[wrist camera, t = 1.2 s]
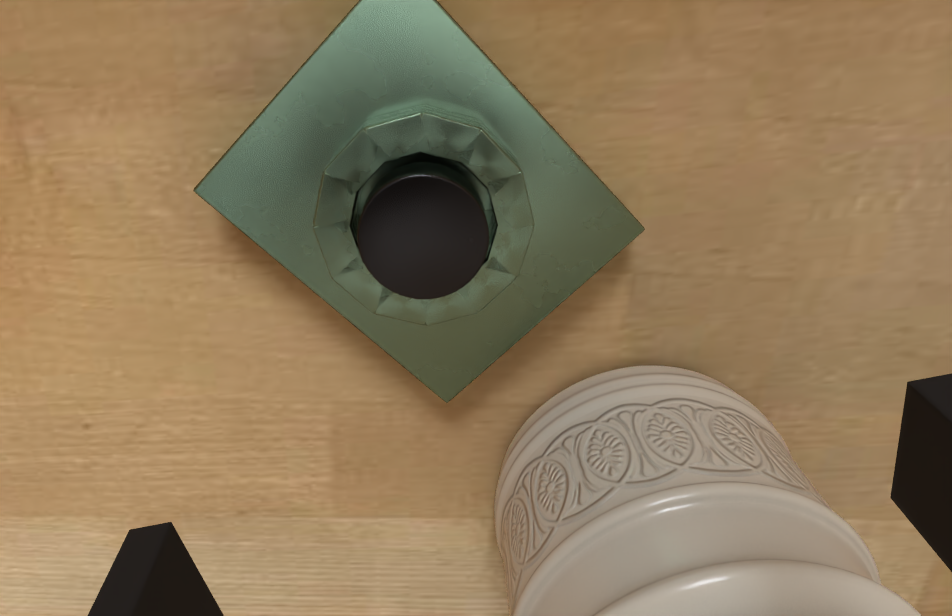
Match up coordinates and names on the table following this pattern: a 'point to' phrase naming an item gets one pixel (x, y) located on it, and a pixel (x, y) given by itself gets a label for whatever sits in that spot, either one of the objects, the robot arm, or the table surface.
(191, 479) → the table surface
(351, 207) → the button box
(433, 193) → the button
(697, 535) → the jar
